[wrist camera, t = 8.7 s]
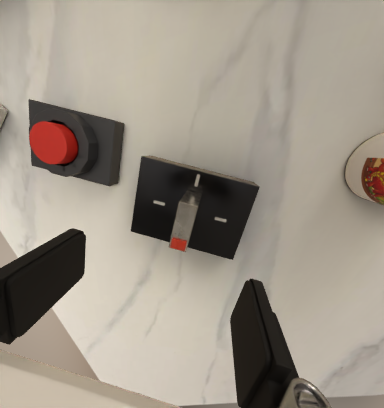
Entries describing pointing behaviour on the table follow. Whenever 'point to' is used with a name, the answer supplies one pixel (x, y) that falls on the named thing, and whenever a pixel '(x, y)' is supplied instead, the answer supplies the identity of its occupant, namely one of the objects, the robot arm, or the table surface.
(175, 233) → the red-tagged slide lever
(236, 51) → the table surface
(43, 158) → the red push button
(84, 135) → the box
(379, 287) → the table surface
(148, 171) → the black flat block
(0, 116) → the white packaging box
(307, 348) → the table surface
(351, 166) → the milk bottle
